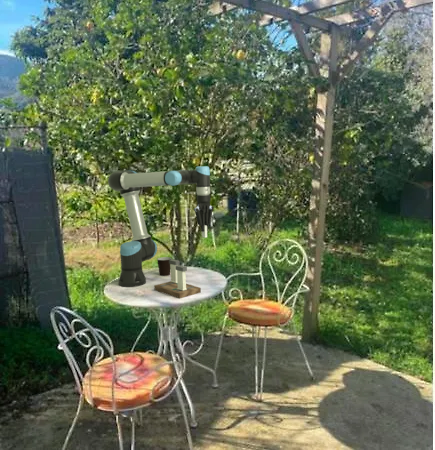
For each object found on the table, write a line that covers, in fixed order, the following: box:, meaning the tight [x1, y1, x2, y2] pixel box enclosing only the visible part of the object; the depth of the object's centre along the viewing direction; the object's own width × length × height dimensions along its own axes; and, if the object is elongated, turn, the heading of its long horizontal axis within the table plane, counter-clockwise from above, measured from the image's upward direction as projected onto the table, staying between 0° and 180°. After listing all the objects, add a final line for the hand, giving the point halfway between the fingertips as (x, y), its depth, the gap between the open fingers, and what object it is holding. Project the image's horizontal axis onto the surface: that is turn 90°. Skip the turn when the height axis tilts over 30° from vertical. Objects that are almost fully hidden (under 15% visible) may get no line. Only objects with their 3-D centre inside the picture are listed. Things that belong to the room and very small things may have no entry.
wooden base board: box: [153, 281, 202, 299], centre depth 234 cm, size 14×22×3 cm, turn 43°
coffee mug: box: [156, 256, 172, 277], centre depth 271 cm, size 12×9×10 cm
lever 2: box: [176, 264, 188, 291], centre depth 227 cm, size 3×6×12 cm, turn 43°
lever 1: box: [169, 258, 181, 283], centre depth 241 cm, size 3×6×12 cm, turn 43°
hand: (204, 237), depth 245 cm, fingers closed
